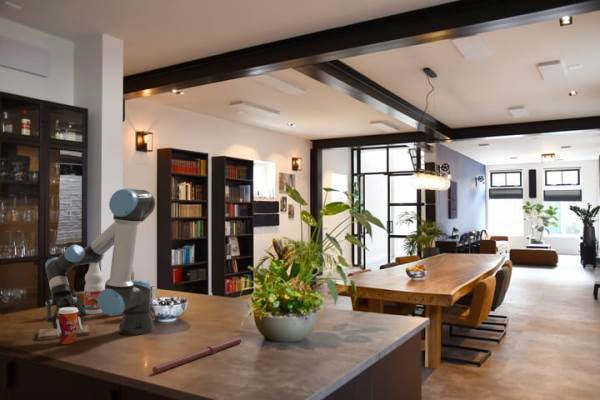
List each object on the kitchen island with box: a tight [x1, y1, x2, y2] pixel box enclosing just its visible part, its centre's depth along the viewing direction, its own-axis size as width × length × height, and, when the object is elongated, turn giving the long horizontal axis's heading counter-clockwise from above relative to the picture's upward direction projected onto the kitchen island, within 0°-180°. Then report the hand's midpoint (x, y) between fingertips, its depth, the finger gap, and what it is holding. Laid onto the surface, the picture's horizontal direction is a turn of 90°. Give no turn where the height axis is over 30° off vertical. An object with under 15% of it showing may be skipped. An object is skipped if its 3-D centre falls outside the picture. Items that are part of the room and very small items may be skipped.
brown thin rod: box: [152, 337, 242, 374], centre depth 180 cm, size 45×3×3 cm, turn 148°
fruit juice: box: [83, 261, 104, 315], centre depth 258 cm, size 9×9×28 cm
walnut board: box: [37, 324, 90, 341], centre depth 213 cm, size 20×14×2 cm
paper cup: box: [58, 306, 79, 345], centre depth 200 cm, size 8×8×14 cm
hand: (70, 332), depth 197 cm, fingers closed on paper cup, 8 cm apart
